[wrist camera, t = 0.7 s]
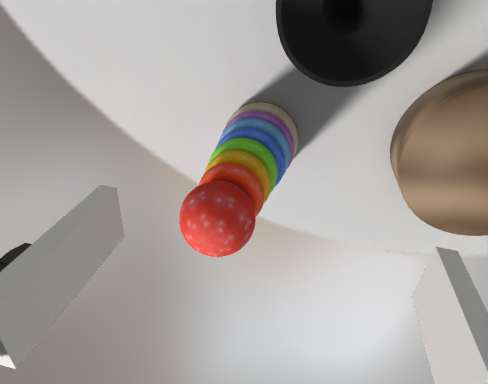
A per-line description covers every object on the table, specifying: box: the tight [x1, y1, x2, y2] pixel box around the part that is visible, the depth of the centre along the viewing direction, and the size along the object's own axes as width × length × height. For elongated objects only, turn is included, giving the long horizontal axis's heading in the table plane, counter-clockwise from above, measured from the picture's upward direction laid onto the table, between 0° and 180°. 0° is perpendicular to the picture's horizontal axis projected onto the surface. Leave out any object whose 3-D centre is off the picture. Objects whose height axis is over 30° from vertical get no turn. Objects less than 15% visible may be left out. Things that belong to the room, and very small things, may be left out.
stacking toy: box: [179, 102, 298, 257], centre depth 28 cm, size 8×8×19 cm
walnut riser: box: [390, 69, 488, 236], centre depth 30 cm, size 14×14×5 cm
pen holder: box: [276, 0, 433, 87], centre depth 24 cm, size 9×9×10 cm
